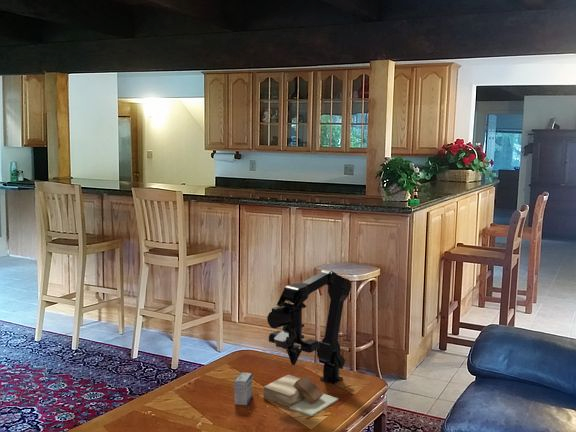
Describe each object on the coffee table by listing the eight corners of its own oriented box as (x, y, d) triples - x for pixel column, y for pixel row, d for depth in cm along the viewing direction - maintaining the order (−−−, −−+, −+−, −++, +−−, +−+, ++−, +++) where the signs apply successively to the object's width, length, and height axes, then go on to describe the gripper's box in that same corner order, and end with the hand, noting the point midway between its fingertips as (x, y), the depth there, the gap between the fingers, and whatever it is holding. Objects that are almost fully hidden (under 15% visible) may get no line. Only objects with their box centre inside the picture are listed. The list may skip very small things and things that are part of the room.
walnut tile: (293, 386, 210) (296, 381, 208) (302, 379, 214) (305, 374, 213) (311, 404, 206) (314, 400, 205) (320, 397, 211) (323, 393, 210)
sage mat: (317, 393, 217) (317, 391, 217) (338, 399, 211) (338, 398, 211) (290, 408, 204) (290, 407, 204) (311, 416, 199) (311, 414, 199)
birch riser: (288, 384, 224) (288, 374, 223) (314, 393, 216) (314, 382, 216) (263, 397, 213) (263, 386, 212) (290, 407, 206) (290, 395, 205)
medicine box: (246, 405, 206) (246, 381, 205) (234, 404, 207) (234, 380, 206) (252, 396, 214) (252, 372, 213) (240, 395, 215) (240, 371, 214)
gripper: (258, 322, 209) (258, 365, 211) (301, 333, 198) (300, 378, 200) (278, 314, 218) (278, 356, 220) (320, 324, 206) (320, 368, 208)
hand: (293, 364), depth 212 cm, fingers closed
